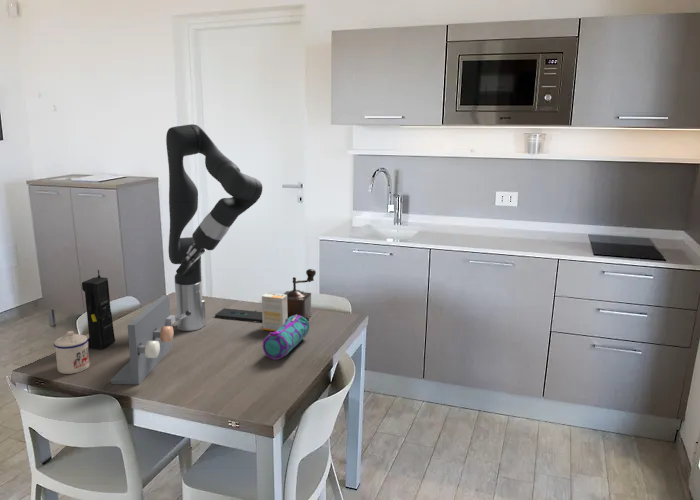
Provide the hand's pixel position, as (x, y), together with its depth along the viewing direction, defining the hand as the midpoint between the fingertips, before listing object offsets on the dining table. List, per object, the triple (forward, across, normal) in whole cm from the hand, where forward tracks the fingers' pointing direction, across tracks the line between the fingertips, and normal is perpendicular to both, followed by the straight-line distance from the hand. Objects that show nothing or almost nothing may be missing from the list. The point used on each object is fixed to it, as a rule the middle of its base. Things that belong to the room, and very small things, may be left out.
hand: (179, 273), depth 162 cm
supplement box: (+11, -30, +36) cm, 49 cm away
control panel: (+30, +3, +9) cm, 31 cm away
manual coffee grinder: (+8, -45, +41) cm, 61 cm away
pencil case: (+6, -14, +42) cm, 44 cm away
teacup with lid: (+42, +8, -7) cm, 43 cm away
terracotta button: (+21, +3, +8) cm, 23 cm away
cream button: (+20, +14, +8) cm, 26 cm away
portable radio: (+44, -8, -7) cm, 45 cm away
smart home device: (+21, -42, +25) cm, 53 cm away
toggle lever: (+17, -9, +9) cm, 21 cm away
